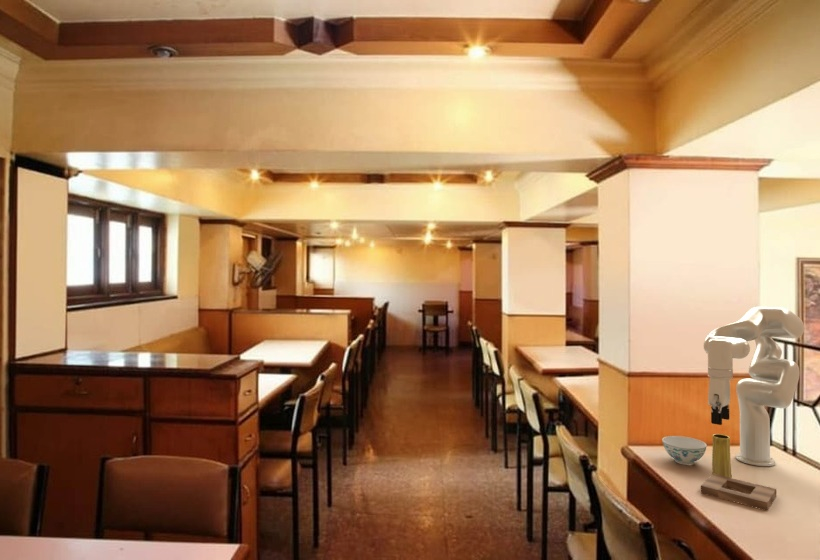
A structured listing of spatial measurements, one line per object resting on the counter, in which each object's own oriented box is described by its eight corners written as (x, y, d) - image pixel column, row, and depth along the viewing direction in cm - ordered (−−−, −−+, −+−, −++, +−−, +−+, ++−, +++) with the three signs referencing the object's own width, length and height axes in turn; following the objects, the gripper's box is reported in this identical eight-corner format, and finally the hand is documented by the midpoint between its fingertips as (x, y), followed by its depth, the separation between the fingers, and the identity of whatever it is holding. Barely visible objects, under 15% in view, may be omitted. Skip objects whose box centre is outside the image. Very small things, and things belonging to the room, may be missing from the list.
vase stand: (712, 480, 171) (712, 473, 171) (776, 496, 159) (776, 488, 159) (700, 493, 162) (700, 485, 162) (767, 510, 149) (767, 502, 149)
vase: (735, 480, 172) (734, 439, 172) (715, 478, 173) (715, 438, 173) (727, 473, 178) (726, 434, 178) (708, 472, 179) (708, 433, 179)
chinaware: (691, 454, 198) (691, 435, 198) (716, 468, 183) (715, 448, 183) (654, 455, 197) (654, 436, 197) (676, 469, 182) (676, 448, 182)
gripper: (715, 369, 185) (715, 415, 184) (701, 375, 172) (701, 424, 172) (738, 372, 179) (738, 419, 179) (725, 377, 167) (726, 428, 167)
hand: (720, 421), depth 176 cm, fingers open, 9 cm apart
